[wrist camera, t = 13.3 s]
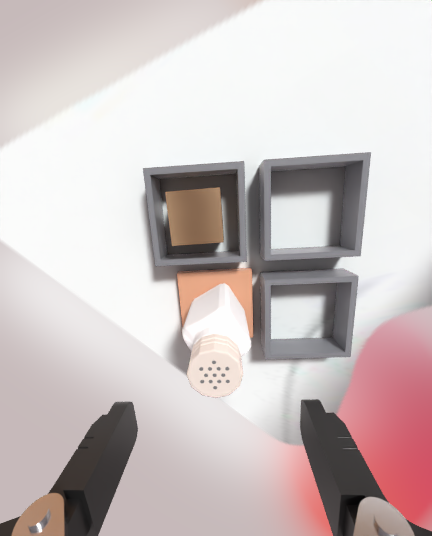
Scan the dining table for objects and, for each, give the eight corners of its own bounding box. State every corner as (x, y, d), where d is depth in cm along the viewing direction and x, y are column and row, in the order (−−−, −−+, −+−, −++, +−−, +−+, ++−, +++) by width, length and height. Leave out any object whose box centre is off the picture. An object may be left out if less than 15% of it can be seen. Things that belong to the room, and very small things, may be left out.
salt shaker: (212, 331, 23) (204, 414, 13) (190, 299, 22) (165, 364, 13) (247, 312, 22) (263, 385, 13) (225, 278, 21) (226, 331, 12)
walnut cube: (220, 191, 20) (219, 187, 16) (223, 236, 21) (223, 242, 17) (176, 195, 20) (165, 191, 17) (181, 239, 21) (171, 246, 18)
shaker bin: (343, 268, 21) (358, 275, 19) (337, 341, 23) (350, 356, 21) (260, 272, 22) (264, 280, 19) (261, 344, 24) (265, 359, 21)
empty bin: (352, 159, 19) (370, 152, 17) (344, 250, 21) (360, 256, 19) (259, 166, 19) (264, 159, 17) (260, 255, 21) (264, 260, 19)
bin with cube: (241, 167, 20) (244, 161, 17) (244, 255, 21) (246, 261, 19) (152, 173, 20) (142, 168, 18) (163, 259, 22) (155, 266, 19)
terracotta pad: (250, 267, 22) (251, 269, 21) (252, 333, 23) (253, 337, 23) (178, 271, 22) (177, 273, 21) (185, 335, 24) (183, 339, 23)
